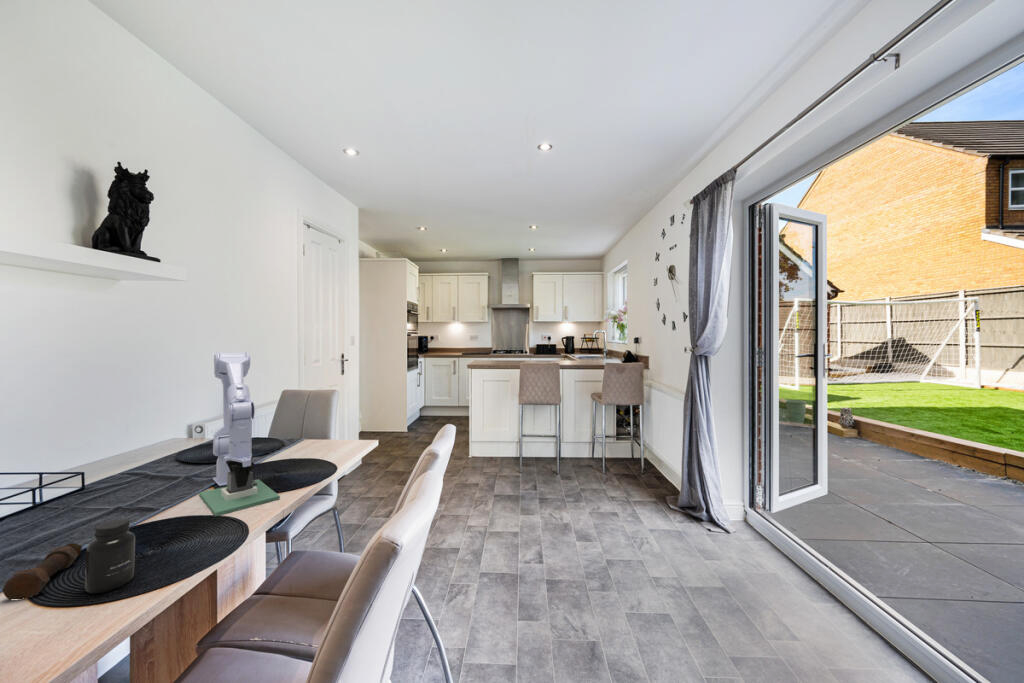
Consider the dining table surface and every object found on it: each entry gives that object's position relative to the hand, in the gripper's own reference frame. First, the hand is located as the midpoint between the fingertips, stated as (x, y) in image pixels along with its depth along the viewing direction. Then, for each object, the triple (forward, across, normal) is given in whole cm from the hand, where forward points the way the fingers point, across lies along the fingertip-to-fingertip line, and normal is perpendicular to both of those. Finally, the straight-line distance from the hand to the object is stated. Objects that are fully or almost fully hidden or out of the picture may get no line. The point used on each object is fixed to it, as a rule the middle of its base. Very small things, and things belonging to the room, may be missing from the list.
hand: (239, 484), depth 118 cm
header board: (+4, 0, 0) cm, 4 cm away
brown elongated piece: (+4, +18, -37) cm, 41 cm away
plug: (+2, 0, 0) cm, 2 cm away
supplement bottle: (+4, +30, -29) cm, 42 cm away
